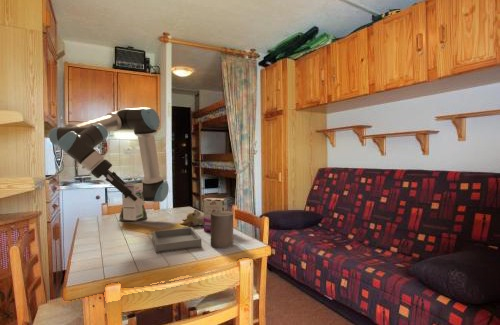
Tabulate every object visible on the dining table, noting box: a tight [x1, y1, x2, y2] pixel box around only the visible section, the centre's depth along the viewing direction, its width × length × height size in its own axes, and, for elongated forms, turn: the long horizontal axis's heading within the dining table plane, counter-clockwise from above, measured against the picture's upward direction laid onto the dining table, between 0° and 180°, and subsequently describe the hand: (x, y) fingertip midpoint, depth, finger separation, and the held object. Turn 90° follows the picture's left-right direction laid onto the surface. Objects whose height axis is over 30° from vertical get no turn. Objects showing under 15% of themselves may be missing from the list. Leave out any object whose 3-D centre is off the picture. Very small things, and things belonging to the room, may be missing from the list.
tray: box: [152, 226, 202, 254], centre depth 122 cm, size 20×18×4 cm
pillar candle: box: [210, 210, 234, 249], centre depth 120 cm, size 10×10×15 cm
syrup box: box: [122, 183, 144, 220], centre depth 115 cm, size 6×6×14 cm
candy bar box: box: [203, 197, 228, 233], centre depth 140 cm, size 11×5×16 cm, turn 71°
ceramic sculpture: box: [179, 209, 204, 227], centre depth 151 cm, size 11×9×15 cm
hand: (142, 203), depth 116 cm, fingers closed on syrup box, 7 cm apart
